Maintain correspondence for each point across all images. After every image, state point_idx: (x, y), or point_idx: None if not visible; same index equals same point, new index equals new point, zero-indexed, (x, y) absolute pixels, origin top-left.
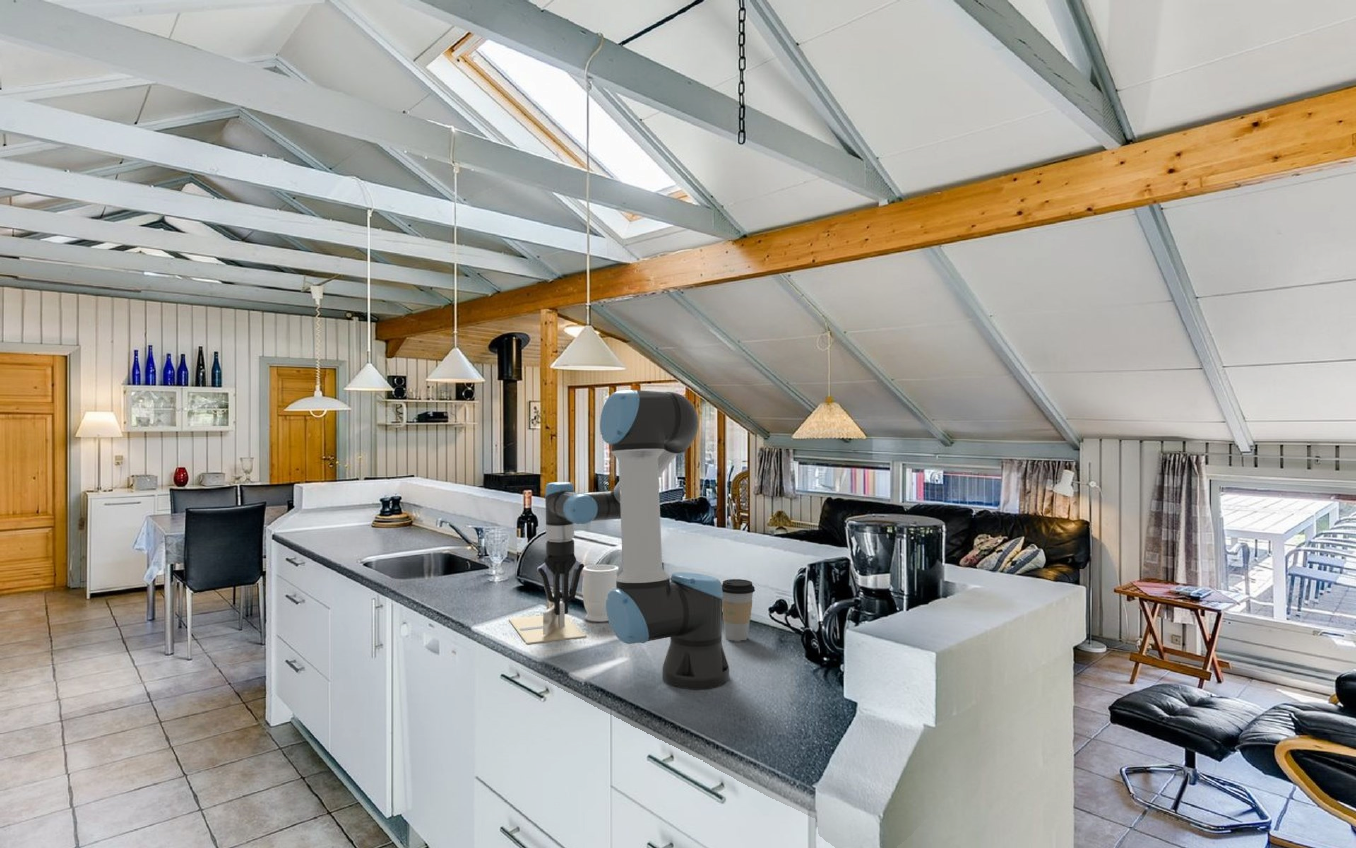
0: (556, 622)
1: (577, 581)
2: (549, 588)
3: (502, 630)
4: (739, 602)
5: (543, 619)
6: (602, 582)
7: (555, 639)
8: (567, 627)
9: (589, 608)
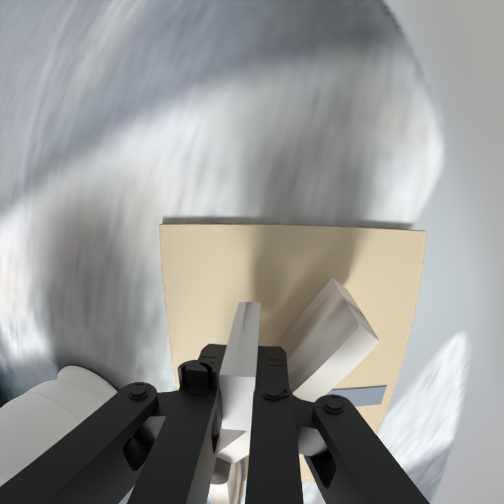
0: None
1: (35, 470)
2: (373, 487)
3: (418, 409)
4: None
5: (365, 320)
6: (5, 448)
7: (306, 227)
8: None
9: None
